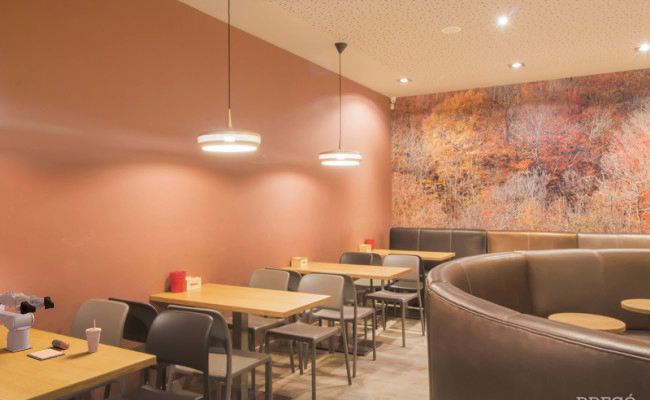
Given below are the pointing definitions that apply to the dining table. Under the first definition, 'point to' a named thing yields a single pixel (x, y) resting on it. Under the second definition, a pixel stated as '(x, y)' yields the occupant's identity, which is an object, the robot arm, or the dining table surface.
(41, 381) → the dining table surface
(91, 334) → the smoothie
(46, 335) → the dining table surface
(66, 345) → the marker
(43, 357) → the notepad
